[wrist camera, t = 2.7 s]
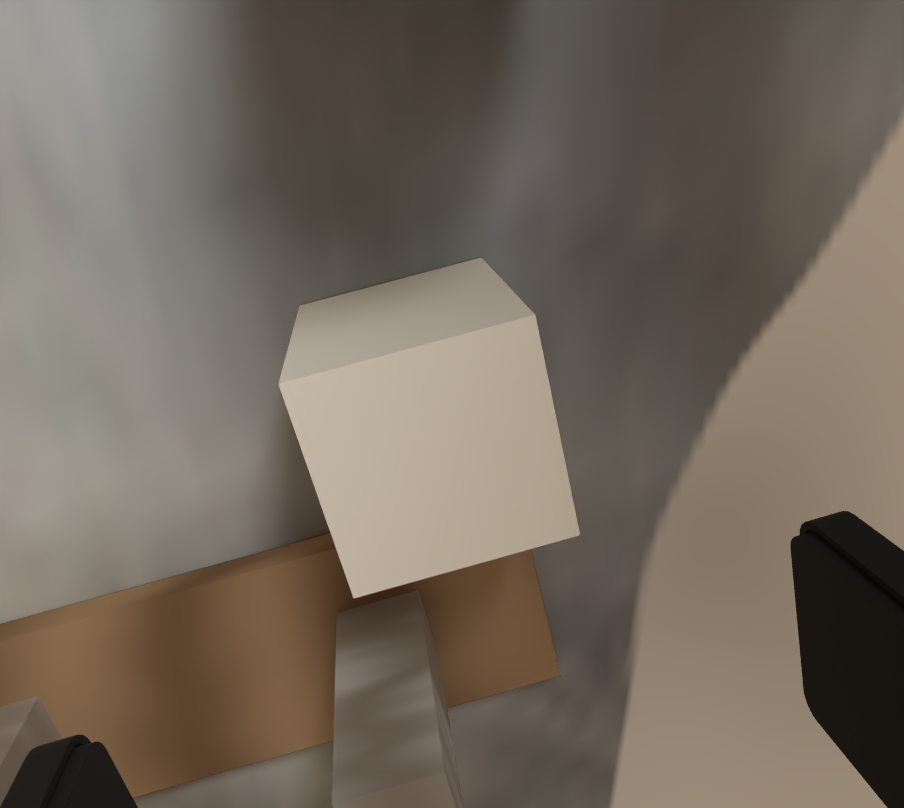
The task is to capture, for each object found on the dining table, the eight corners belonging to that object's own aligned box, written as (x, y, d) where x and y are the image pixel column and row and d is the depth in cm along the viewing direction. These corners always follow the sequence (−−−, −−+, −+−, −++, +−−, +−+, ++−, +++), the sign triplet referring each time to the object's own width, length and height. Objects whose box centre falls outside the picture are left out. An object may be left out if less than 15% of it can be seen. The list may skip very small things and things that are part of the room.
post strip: (512, 482, 24) (586, 650, 16) (553, 655, 26) (633, 869, 19) (-185, 675, 23) (-443, 943, 15) (-72, 833, 25) (-246, 1127, 18)
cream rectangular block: (481, 257, 21) (535, 314, 15) (518, 423, 23) (579, 535, 17) (299, 305, 21) (278, 383, 15) (352, 468, 23) (353, 598, 17)
